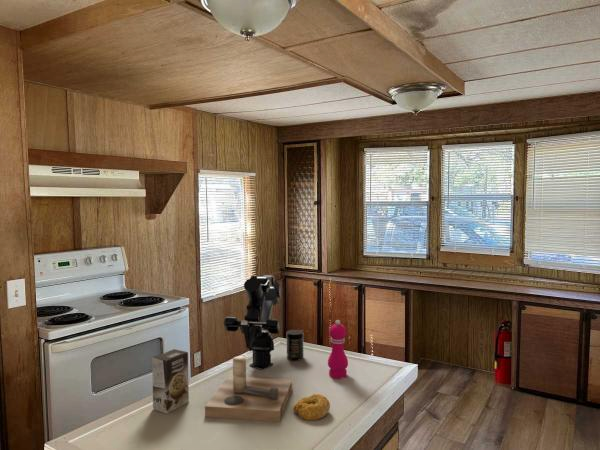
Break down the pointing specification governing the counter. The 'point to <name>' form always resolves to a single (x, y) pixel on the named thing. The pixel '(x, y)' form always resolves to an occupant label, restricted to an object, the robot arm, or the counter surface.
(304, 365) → the counter surface
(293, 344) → the supplement container
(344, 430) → the counter surface
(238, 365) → the folding leg
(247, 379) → the stool seat
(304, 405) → the bagel
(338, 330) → the pepper mill
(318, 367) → the counter surface
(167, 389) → the coffee box
